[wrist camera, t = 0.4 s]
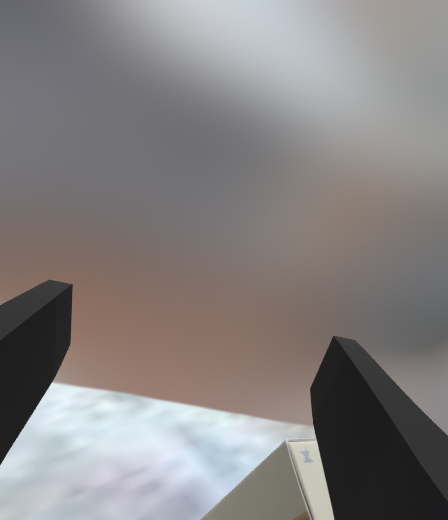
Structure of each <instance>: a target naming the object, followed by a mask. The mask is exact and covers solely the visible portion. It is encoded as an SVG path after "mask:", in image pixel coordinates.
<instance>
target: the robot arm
mask: <svg viewBox="0 0 448 520" xmlns="http://www.w3.org/2000/svg"><path fill="white" fill-rule="evenodd" d="M72 287H73V285H72V284H68V283H63V282H58V281H53V280H48V281H46V282H44V283H42V284H40V285H38V286H36V287H34V288H32V289H30V290H28V291H26V292H25V293H23V294H21V295H19V296H17V297H15V298H13V299H12V300H9V301H7V302H6V303H4V304H2V305H0V465H1V463H2V461H3V460H4V458H5V456H6V455H7V453H8V451H9V450H10V448H11V447H12V445H13V443H14V442H15V440H16V439H17V437H18V436H19V434H20V432H21V431H22V429H23V428H24V426H25V424H26V423H27V421H28V420H29V418H30V417H31V415H32V413H33V412H34V410H35V409H36V407H37V405H38V404H39V402H40V401H41V399H42V397H43V396H44V394H45V393H46V391H47V389H48V388H49V386H50V385H51V383H52V381H53V380H54V378H55V376H56V374H57V372H58V370H59V368H60V366H61V364H62V361H63V359H64V357H65V355H66V352H67V350H68V348H69V346H70V340H71V313H72ZM310 392H311V405H312V417H313V425H314V430H315V435H316V439H317V444H318V448H319V453H320V457H321V462H322V466H323V470H324V475H325V479H326V484H327V488H328V493H329V497H330V501H331V506H332V511H333V516H334V520H448V436H447V435H446V434H445V433H444V432H443V431H442V430H441V429H440V428H439V427H438V426H437V425H436V424H435V423H434V422H433V421H432V420H431V419H430V418H429V417H428V416H427V415H426V414H425V413H424V412H423V411H422V410H421V409H420V408H419V407H418V406H417V405H416V404H415V403H414V402H413V401H412V400H411V399H410V398H409V397H408V396H407V395H406V394H405V393H404V392H403V391H402V390H401V389H400V387H399V386H398V385H397V384H396V383H395V382H394V381H393V380H392V379H391V378H390V377H389V376H388V375H387V374H386V373H385V371H384V370H383V369H382V368H381V367H380V366H379V365H378V364H377V363H376V361H375V360H374V359H373V358H372V357H371V356H370V355H369V354H368V353H367V352H366V351H365V350H364V349H363V348H362V347H361V346H360V345H359V344H358V343H357V342H356V341H355V340H352V339H346V338H342V337H337V336H333V338H332V340H331V343H330V345H329V347H328V349H327V352H326V354H325V356H324V359H323V361H322V363H321V365H320V368H319V370H318V372H317V374H316V377H315V379H314V381H313V383H312V386H311V388H310Z"/></svg>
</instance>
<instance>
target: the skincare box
mask: <svg viewBox="0 0 448 520" xmlns="http://www.w3.org/2000/svg"><path fill="white" fill-rule="evenodd" d="M201 520H334V516H333V511H332V506H331V501H330V497H329V493H328V488H327V484H326V479H325V475H324V470H323V466H322V462H321V457H320V453H319V448H318V444H317V439H316V438H305V439H287V440H285V441H284V442H283V443H282V444H281V445H280V446H279V447H278V448H277V449H276V450H274V451H273V452H272V453H271V454H270V455H269V456H268V457H267V458H266V459H265V460H264V461H263V462H261V463H260V464H259V465H258V466H257V467H256V468H255V469H254V470H253V471H252V472H251V473H250V474H249V475H248V476H247V477H246V478H245V479H243V480H242V481H241V482H240V483H239V484H238V485H237V486H236V487H235V488H234V489H233V490H232V491H231V492H230V493H229V494H227V495H226V496H225V497H224V498H223V499H222V500H221V501H220V502H219V503H218V504H217V505H216V506H215V507H214V508H213V509H211V510H210V511H209V512H208V513H207V514H206V515H205V516H204V517H203V518H202V519H201Z"/></svg>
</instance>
